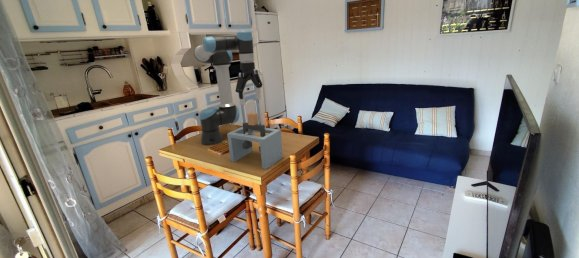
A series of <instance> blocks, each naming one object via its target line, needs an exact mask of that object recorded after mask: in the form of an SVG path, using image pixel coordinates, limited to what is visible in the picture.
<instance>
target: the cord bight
mask: <svg viewBox="0 0 579 258" xmlns="http://www.w3.org/2000/svg"><path fill="white" fill-rule="evenodd" d="M246 115H247V122H245V121H244V122H242V127H243V132H244V134H245V132H247V131H248V129H251V130H258V131H260V132H259V135H260V136H259V137H264V136H266V133H265V128H266V126H265V125H266V124H262V123H261V124H260V123H259V115H258V112H249V113H247V114H246ZM244 141H245V143H243V144H242V145H243V149H248V148H250V147H252V148H253V141H247V140H244ZM258 149H259V152H260V153H261V149H260V146H258Z"/></svg>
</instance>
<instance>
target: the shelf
mask: <svg viewBox="0 0 579 258" xmlns="http://www.w3.org/2000/svg"><path fill="white" fill-rule="evenodd" d="M249 130H251V129H248V131H249ZM266 134H267V135H266ZM226 135H227V143H228V151H229V158H230V159H229V160H230V162H233V163H235V162H237V161H238V160H240V159H241V158H244V157H245V156H247V155H248V154H250V153H252V152H253V146H252V147H250V148H248V149H243V145H242V144H243V143H245V141H244V140H247V141H251V142H252V143H259V147H260V149H261V152H260V157H261V167H262V168H261V169H262V170H267V169H269V168H270V167H271V166H273V165H274V164H276V163H278V162H279V161H280V160H282V158H284V157H283V141H282V130H281V129H278V128H271V127H270V128H269V127H265V135H266V136H264V137H261V136H257V135H249V136H247V135H245V134H244V132H243V126H241V127H239V128H237V129H234V130H232V131H230V132H227V133H226Z"/></svg>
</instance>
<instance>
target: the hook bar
mask: <svg viewBox="0 0 579 258" xmlns="http://www.w3.org/2000/svg"><path fill="white" fill-rule="evenodd" d="M258 133H260V131H258V130H249V131H247V132H245V135H247V136H249V135H252V136H255V135H256V134H258Z"/></svg>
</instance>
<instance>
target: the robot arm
mask: <svg viewBox="0 0 579 258" xmlns="http://www.w3.org/2000/svg"><path fill="white" fill-rule="evenodd" d="M253 41H254V37H253V33H252V31H251V30H247V29H246V30H238V31H236V34H235V35H221V36H220V35H218V36H212V35H210V36H205V37H204V36H203V39H202V44H201V45H198V46H196V47H195V48H194V49H193V56H194V58H195V60H196V61H198V62H199V63H201V64H205V65H208V64H212V67H213V68H214V69H215V75H216V81H217V87H218V94H219V95H218V96H219V105H218V108H217V107H207V108H204V109H202V110H201V111H199V115H198V116H199V122H200V128H201V139H200V144H201V145H203V146H215V145H218V144H221V143H222V142H223V141H224V136H223V135H222V132H221V131H220V126H225V125H230V124H231V125H232V124H234V123H237V122H238V121H239V119H240V110H239V109H240V108H239V106H237V105H236V103H235V102H234V101H233V92H232V86H231V79H230V78H231V76H230V70H229V67H230V66H231V62H233V59H234V57H233V53H232V51H238V57H239V62H240V63H239V67H240V70H241V72H238V73H237V82H236V86H235V93H238V98H239V101H240V102H239V103H240V105H241V106H246V98H245V92H244V91H245V88H246V85H247V83H248V82H249V81H251V82H252V83H253V85H254V86H255V87H254V88H255V89H254V91H255V100H258V101H259V100H261V99H262V98H261V88H262V87H263V82H262V79H261V78H260V75H259V72H258V69H256V65H255V56H254V42H253Z"/></svg>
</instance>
